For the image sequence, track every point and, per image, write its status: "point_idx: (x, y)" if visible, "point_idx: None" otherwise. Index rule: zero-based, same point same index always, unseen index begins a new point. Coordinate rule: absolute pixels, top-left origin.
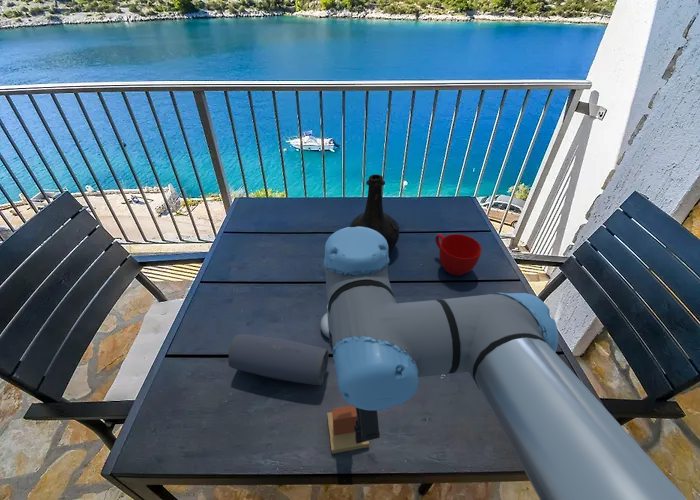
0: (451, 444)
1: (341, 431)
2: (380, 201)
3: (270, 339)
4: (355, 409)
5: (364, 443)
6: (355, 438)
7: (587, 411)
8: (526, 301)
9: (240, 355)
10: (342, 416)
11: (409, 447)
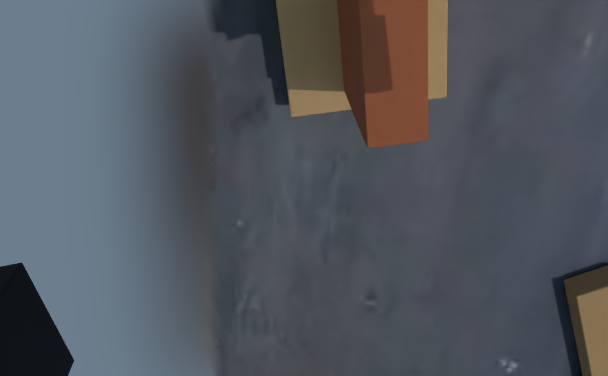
0: (286, 351)
1: (340, 3)
2: None
3: None
4: (403, 113)
5: (292, 98)
6: (9, 275)
7: None
8: None
9: None
10: (373, 40)
11: (282, 240)
